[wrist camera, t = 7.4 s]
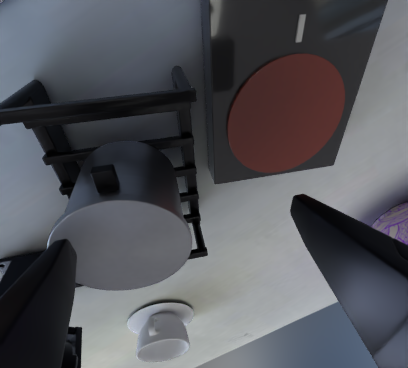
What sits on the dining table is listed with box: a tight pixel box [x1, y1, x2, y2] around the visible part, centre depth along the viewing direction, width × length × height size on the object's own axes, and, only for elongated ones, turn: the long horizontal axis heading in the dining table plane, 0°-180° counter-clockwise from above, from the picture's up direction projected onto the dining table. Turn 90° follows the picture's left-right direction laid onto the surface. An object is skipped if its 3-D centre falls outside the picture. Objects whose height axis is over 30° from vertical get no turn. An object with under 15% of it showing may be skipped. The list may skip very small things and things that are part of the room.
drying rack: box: [0, 66, 208, 260], centre depth 18 cm, size 14×10×6 cm
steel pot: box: [47, 141, 192, 290], centre depth 15 cm, size 9×7×6 cm
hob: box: [201, 0, 388, 184], centre depth 16 cm, size 18×11×3 cm, turn 3°
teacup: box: [128, 303, 194, 362], centre depth 35 cm, size 10×10×5 cm
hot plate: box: [227, 53, 345, 173], centre depth 18 cm, size 9×9×1 cm
